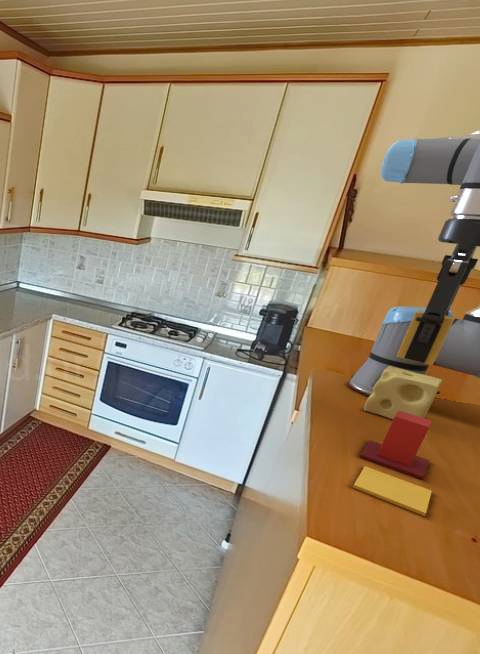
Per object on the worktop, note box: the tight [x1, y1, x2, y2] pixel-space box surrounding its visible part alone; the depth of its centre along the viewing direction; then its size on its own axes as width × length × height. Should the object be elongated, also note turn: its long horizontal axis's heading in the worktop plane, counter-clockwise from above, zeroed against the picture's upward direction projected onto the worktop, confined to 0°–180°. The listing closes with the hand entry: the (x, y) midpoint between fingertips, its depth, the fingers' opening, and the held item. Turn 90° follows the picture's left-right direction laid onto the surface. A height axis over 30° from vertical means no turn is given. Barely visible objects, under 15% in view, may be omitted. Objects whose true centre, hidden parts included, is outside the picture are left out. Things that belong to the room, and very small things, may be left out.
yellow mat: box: [352, 465, 433, 517], centre depth 79 cm, size 10×9×1 cm
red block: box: [377, 410, 432, 466], centre depth 89 cm, size 5×5×8 cm
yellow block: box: [397, 310, 456, 366], centre depth 84 cm, size 5×5×8 cm
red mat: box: [359, 439, 430, 480], centre depth 90 cm, size 10×9×1 cm
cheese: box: [363, 366, 443, 420], centre depth 112 cm, size 10×11×10 cm
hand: (416, 357), depth 85 cm, fingers closed on yellow block, 5 cm apart
